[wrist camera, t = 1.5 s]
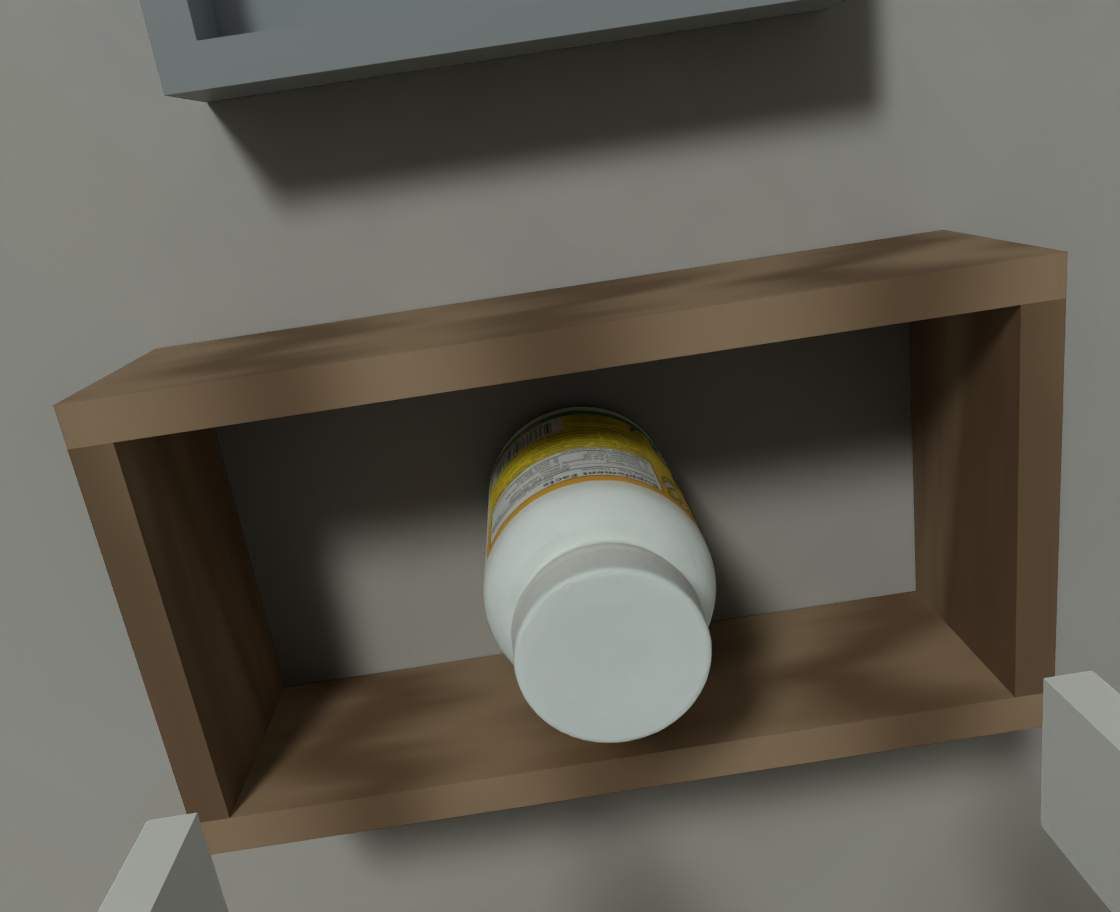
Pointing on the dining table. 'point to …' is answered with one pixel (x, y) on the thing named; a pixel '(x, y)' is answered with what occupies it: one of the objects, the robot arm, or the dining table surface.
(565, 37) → the slate tray
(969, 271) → the walnut box
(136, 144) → the dining table surface
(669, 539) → the supplement bottle
